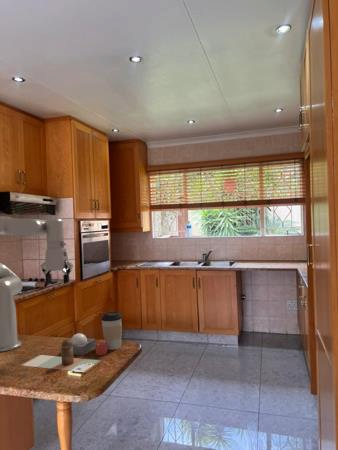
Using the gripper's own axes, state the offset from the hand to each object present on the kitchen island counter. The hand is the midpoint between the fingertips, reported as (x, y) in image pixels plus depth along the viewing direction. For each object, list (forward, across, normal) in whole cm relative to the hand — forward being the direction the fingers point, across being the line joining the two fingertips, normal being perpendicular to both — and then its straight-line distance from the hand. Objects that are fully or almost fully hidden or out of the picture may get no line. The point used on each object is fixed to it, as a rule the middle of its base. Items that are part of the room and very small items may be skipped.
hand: (57, 283), depth 162 cm
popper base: (+28, -14, +6) cm, 32 cm away
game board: (+28, -15, +20) cm, 38 cm away
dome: (+28, -14, +6) cm, 32 cm away
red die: (+28, -25, +6) cm, 38 cm away
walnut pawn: (+28, -18, +20) cm, 39 cm away
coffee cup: (+28, -26, -2) cm, 39 cm away
